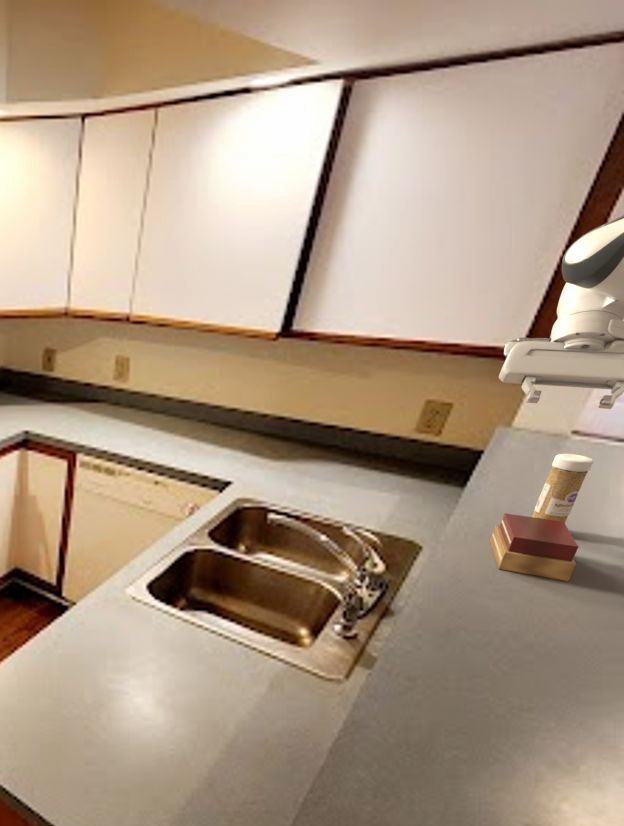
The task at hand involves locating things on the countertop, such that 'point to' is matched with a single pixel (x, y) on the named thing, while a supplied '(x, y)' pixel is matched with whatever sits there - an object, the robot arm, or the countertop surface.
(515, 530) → the red and wooden block
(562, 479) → the sprinkles bottle
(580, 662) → the countertop surface
